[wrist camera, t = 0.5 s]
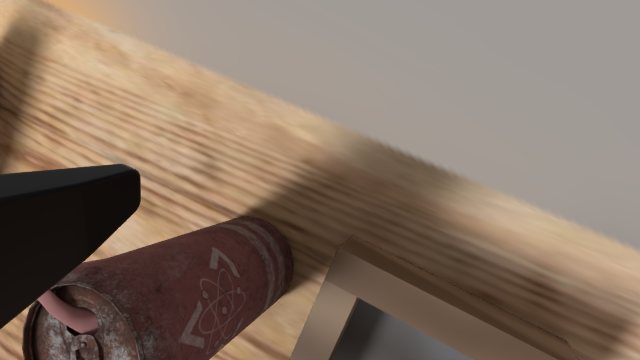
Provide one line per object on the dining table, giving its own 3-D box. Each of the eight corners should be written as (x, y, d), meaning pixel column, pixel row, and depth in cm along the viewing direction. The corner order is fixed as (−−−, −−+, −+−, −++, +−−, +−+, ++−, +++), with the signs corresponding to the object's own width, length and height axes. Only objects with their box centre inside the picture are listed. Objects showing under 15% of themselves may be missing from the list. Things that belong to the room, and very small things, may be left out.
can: (249, 193, 28) (64, 232, 14) (314, 264, 27) (179, 377, 13) (196, 253, 29) (-16, 338, 16) (255, 322, 28) (81, 474, 15)
